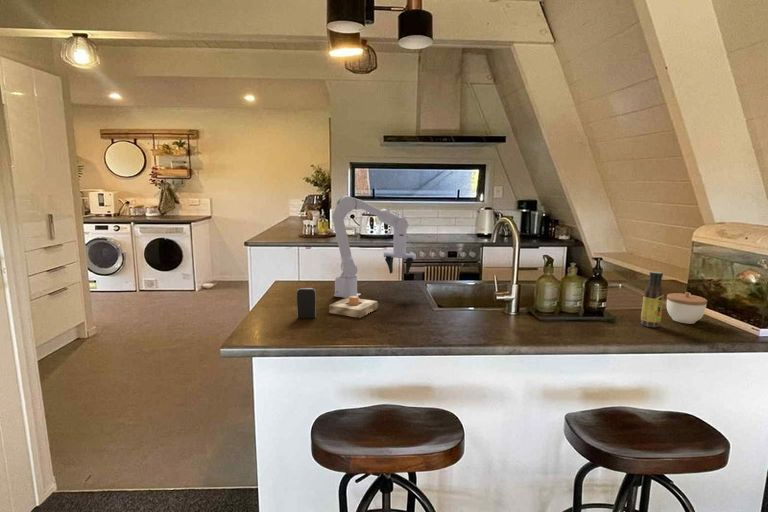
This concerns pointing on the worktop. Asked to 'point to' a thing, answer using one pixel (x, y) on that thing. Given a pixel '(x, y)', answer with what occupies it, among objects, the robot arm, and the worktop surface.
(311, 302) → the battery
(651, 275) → the sauce bottle
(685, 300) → the lidded bowl
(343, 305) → the socket block
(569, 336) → the worktop surface
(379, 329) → the worktop surface
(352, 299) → the peg
